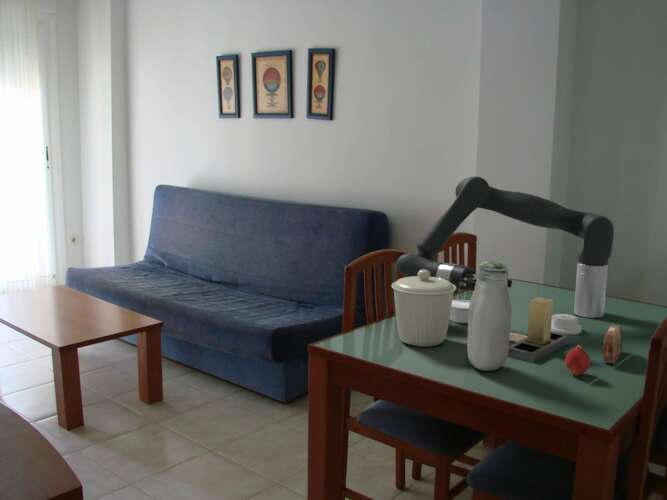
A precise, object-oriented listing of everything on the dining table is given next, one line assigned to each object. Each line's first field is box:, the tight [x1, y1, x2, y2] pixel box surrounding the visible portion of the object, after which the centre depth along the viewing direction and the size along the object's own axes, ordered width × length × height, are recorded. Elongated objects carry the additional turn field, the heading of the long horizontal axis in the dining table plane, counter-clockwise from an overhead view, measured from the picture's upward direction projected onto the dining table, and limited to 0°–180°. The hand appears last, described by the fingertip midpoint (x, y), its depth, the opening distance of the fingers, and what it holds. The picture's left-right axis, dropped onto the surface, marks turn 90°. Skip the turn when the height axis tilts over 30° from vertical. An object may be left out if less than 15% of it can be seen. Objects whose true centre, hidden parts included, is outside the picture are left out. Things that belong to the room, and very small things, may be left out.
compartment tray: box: [507, 331, 570, 364], centre depth 177 cm, size 22×8×2 cm, turn 137°
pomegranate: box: [564, 344, 591, 377], centre depth 158 cm, size 6×6×8 cm
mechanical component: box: [551, 313, 582, 335], centre depth 195 cm, size 10×4×10 cm
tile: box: [509, 331, 528, 343], centre depth 187 cm, size 7×7×1 cm
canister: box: [391, 270, 456, 348], centre depth 182 cm, size 18×18×21 cm
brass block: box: [527, 296, 554, 346], centre depth 176 cm, size 4×4×14 cm
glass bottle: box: [467, 260, 512, 372], centre depth 160 cm, size 10×10×28 cm
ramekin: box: [449, 299, 470, 324], centre depth 206 cm, size 11×11×5 cm
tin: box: [603, 324, 623, 365], centre depth 170 cm, size 15×3×8 cm, turn 148°
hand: (504, 286), depth 182 cm, fingers open, 8 cm apart
